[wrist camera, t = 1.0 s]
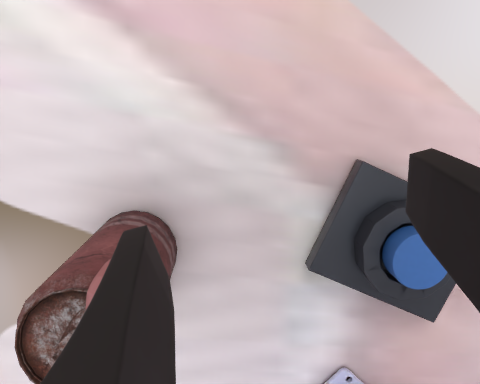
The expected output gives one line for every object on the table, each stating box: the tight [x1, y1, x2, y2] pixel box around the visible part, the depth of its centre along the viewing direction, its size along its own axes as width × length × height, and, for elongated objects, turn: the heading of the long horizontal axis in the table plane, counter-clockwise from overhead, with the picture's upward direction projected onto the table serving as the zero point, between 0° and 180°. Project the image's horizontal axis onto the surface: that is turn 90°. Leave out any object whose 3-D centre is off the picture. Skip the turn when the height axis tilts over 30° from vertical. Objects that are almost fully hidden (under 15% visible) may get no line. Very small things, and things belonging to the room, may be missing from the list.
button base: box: [305, 159, 456, 322], centre depth 31 cm, size 11×9×4 cm
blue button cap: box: [382, 226, 447, 290], centre depth 29 cm, size 4×4×2 cm
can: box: [15, 211, 177, 384], centre depth 25 cm, size 6×6×14 cm
